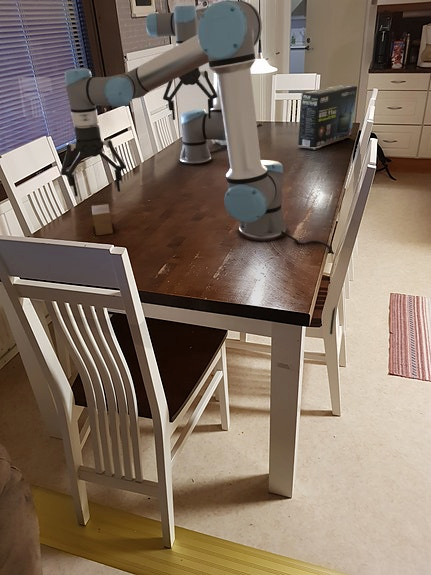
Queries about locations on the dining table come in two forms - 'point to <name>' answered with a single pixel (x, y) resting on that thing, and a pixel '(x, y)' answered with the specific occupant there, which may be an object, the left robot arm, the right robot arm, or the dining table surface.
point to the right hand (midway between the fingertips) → (97, 192)
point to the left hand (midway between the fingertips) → (191, 118)
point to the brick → (102, 219)
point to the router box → (326, 115)
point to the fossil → (219, 142)
